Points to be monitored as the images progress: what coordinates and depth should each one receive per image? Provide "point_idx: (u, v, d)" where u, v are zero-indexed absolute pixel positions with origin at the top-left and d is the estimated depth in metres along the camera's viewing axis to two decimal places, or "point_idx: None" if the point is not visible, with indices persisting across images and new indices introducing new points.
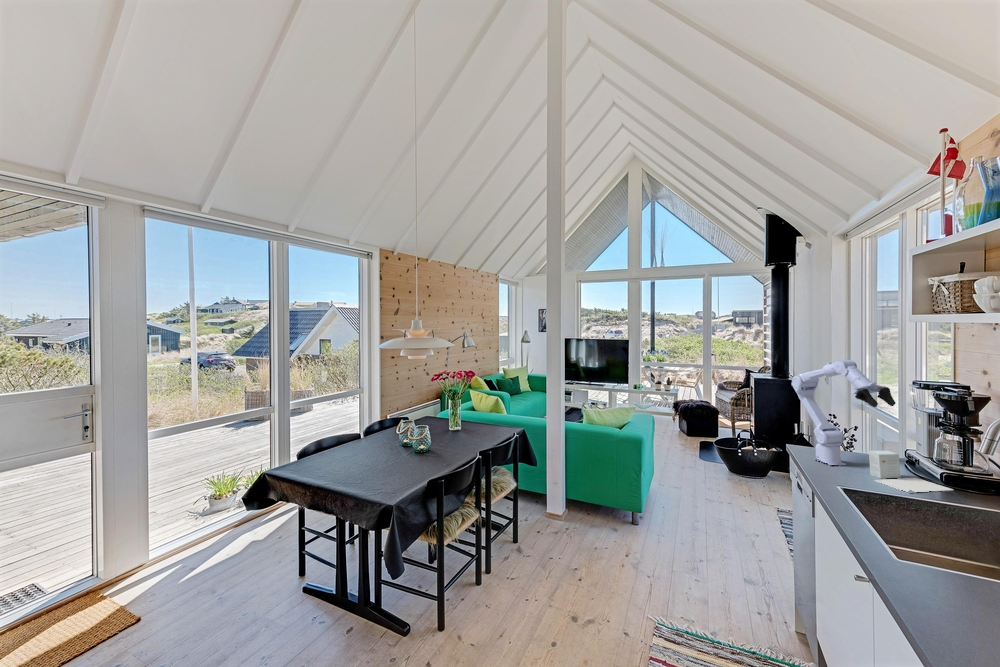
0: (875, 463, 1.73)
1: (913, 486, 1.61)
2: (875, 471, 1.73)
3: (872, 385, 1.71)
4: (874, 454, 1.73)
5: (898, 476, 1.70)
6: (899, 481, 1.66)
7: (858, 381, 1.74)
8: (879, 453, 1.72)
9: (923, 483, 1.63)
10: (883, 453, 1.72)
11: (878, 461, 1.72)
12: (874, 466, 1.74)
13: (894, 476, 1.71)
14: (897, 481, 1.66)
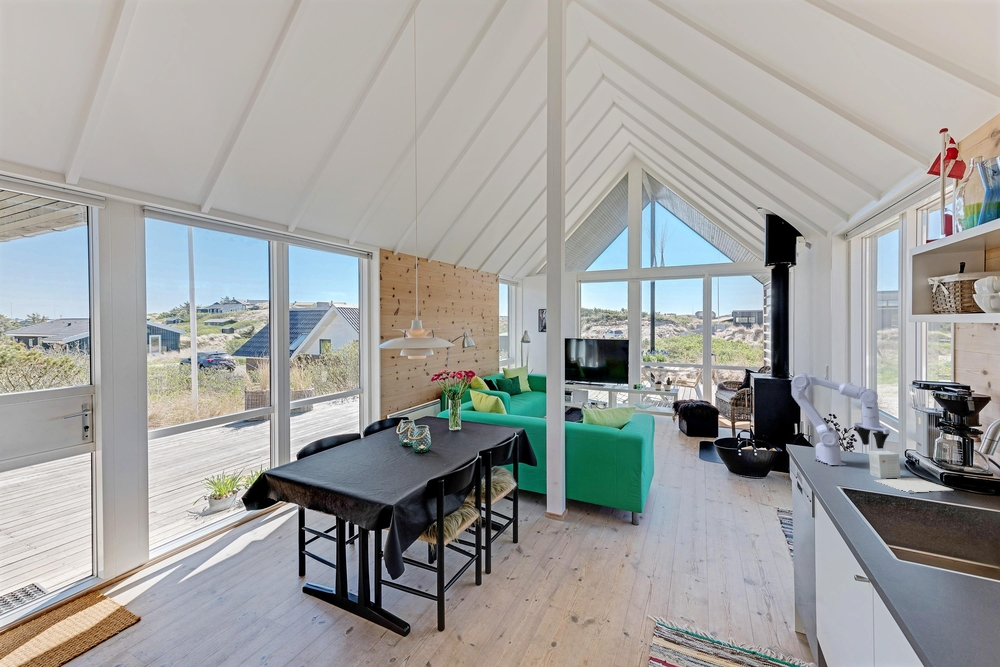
0: (875, 463, 1.73)
1: (913, 486, 1.61)
2: (875, 471, 1.73)
3: None
4: (874, 454, 1.73)
5: (898, 476, 1.70)
6: (899, 481, 1.66)
7: (878, 419, 1.80)
8: (879, 453, 1.72)
9: (923, 483, 1.63)
10: (883, 453, 1.72)
11: (878, 461, 1.72)
12: (874, 466, 1.74)
13: (894, 476, 1.71)
14: (897, 481, 1.66)
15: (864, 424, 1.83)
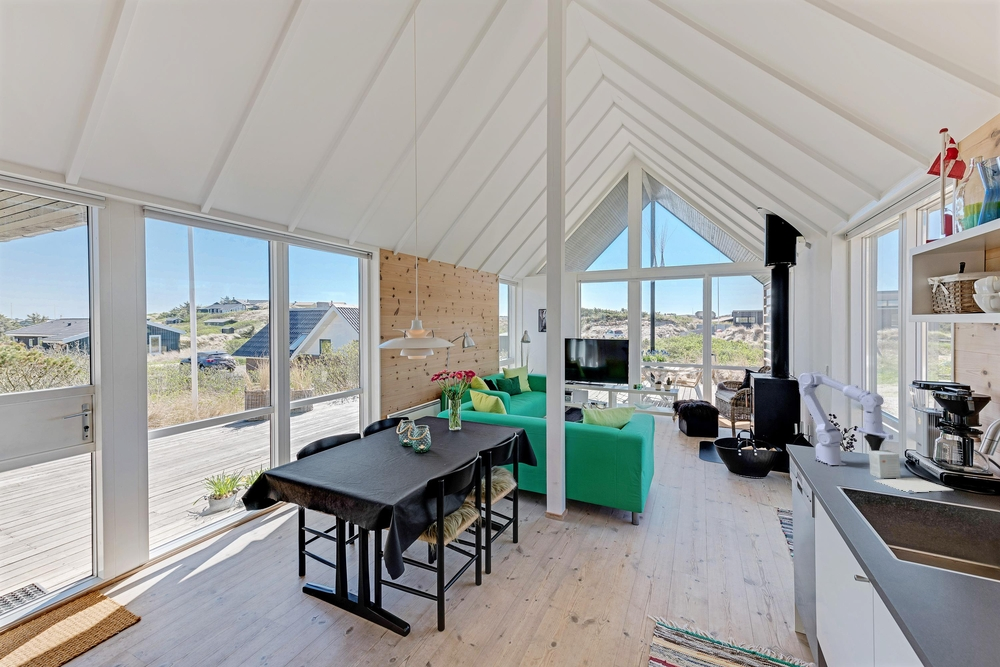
0: (876, 463, 1.73)
1: (913, 486, 1.61)
2: (875, 471, 1.73)
3: None
4: (874, 454, 1.73)
5: (898, 476, 1.70)
6: (899, 481, 1.66)
7: (881, 425, 1.75)
8: (879, 453, 1.72)
9: (923, 483, 1.63)
10: (883, 453, 1.72)
11: (878, 461, 1.72)
12: (874, 466, 1.74)
13: (894, 476, 1.71)
14: (897, 481, 1.66)
15: (867, 429, 1.78)
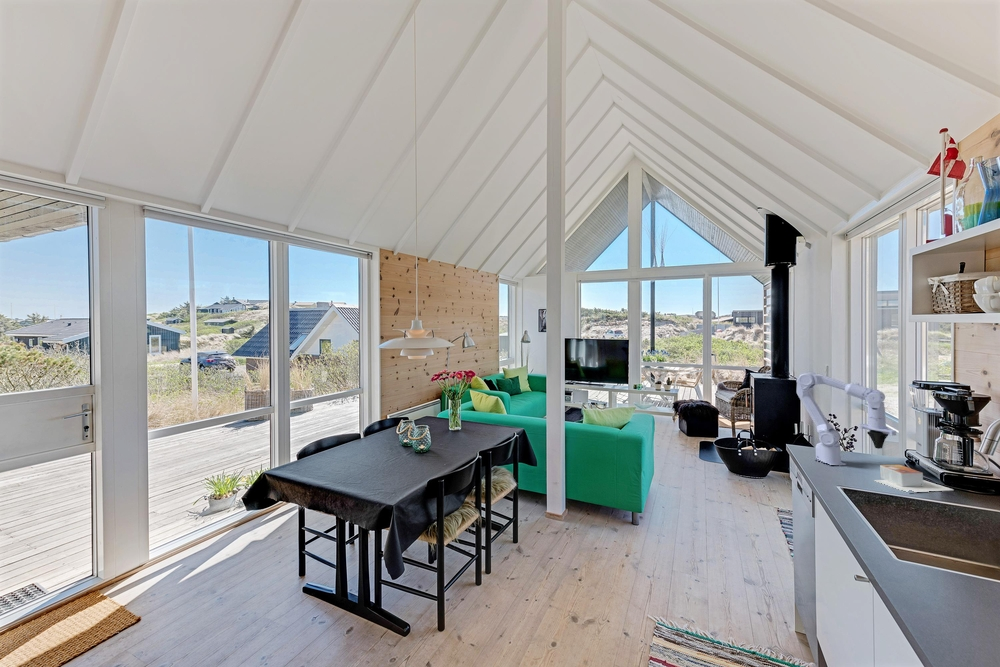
0: (892, 478, 1.65)
1: (913, 486, 1.61)
2: (884, 474, 1.69)
3: None
4: (900, 480, 1.61)
5: None
6: None
7: (885, 421, 1.78)
8: (905, 483, 1.61)
9: (923, 483, 1.63)
10: (909, 483, 1.60)
11: (895, 482, 1.64)
12: (888, 474, 1.67)
13: None
14: None
15: (870, 425, 1.80)
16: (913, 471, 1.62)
